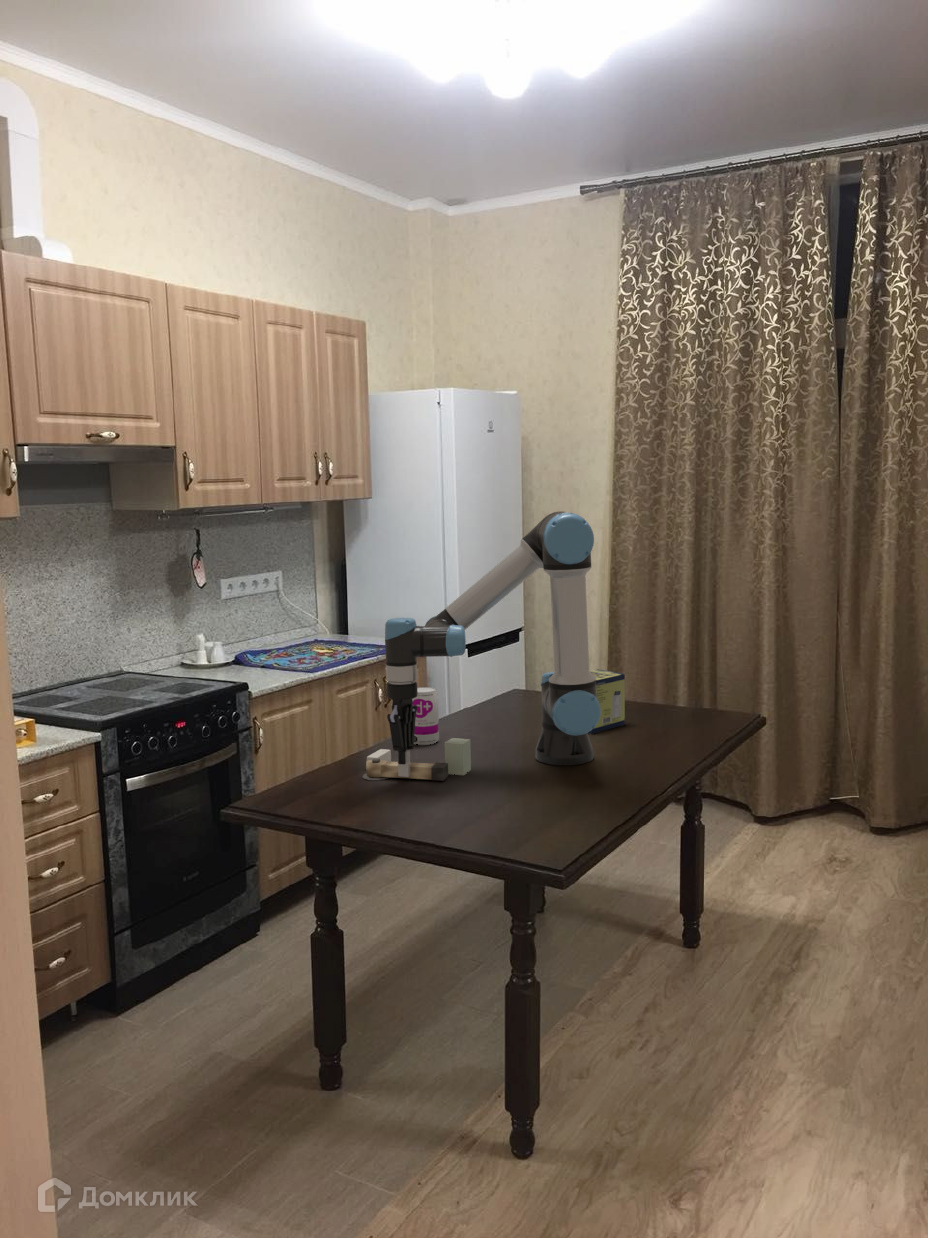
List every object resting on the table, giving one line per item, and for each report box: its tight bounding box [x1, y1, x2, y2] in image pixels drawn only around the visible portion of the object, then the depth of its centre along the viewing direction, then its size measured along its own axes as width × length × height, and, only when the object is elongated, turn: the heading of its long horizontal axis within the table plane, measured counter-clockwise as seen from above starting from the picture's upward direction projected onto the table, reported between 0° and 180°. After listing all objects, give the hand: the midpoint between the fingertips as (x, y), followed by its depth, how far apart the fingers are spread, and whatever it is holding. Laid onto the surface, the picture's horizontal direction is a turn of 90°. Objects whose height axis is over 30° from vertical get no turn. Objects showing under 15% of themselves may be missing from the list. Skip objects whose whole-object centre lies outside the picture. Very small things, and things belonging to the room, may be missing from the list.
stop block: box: [366, 748, 392, 762], centre depth 271 cm, size 3×8×3 cm, turn 158°
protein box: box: [588, 669, 626, 735], centre depth 305 cm, size 10×16×16 cm
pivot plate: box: [362, 772, 390, 781], centre depth 261 cm, size 7×7×1 cm
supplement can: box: [412, 686, 440, 746], centre depth 292 cm, size 8×8×15 cm
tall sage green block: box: [444, 737, 472, 776], centre depth 263 cm, size 5×5×8 cm
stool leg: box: [365, 759, 449, 782], centre depth 259 cm, size 20×5×4 cm, turn 75°
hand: (404, 776), depth 257 cm, fingers closed
